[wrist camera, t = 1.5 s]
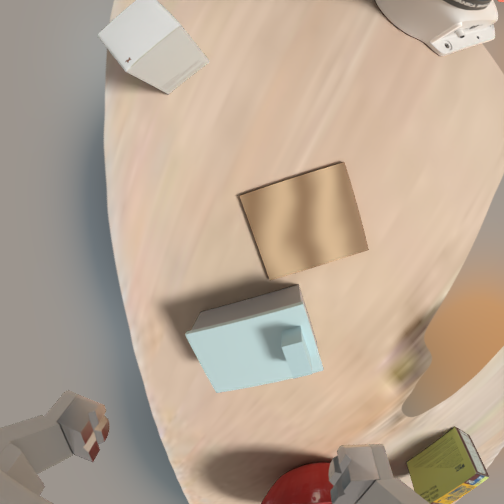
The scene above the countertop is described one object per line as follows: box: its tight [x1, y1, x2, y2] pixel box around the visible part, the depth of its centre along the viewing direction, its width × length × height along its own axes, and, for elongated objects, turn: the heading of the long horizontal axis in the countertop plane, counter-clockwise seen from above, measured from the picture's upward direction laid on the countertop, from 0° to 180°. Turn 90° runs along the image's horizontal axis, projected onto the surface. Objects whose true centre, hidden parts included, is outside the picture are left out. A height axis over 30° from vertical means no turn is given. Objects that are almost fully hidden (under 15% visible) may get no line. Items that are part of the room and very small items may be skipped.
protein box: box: [407, 427, 489, 504], centre depth 44 cm, size 10×15×16 cm
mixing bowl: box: [261, 462, 334, 504], centre depth 48 cm, size 28×28×16 cm
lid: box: [185, 301, 323, 393], centre depth 36 cm, size 16×11×4 cm
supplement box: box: [98, 0, 209, 94], centre depth 28 cm, size 7×7×13 cm
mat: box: [240, 162, 369, 280], centre depth 39 cm, size 14×12×1 cm
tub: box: [191, 285, 318, 348], centre depth 41 cm, size 15×10×6 cm, turn 110°
